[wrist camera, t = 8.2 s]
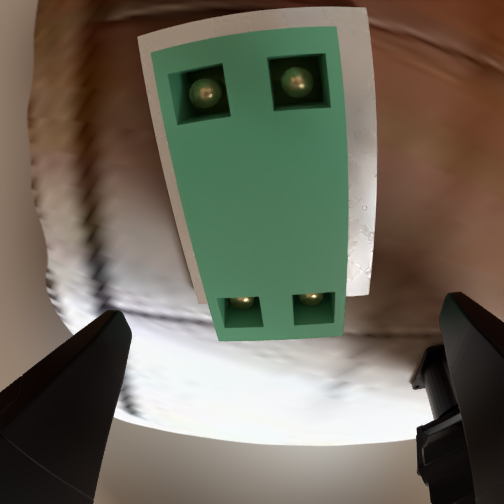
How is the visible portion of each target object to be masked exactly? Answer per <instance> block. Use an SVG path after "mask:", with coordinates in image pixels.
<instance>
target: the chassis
mask: <svg viewBox="0 0 504 504" xmlns="http://www.w3.org/2000/svg"><path fill="white" fill-rule="evenodd" d="M319 26H337V33H338V41H339V49H340V58H341V67H342V77H343V87H344V99H345V113H346V129H347V150H348V186H349V228H348V265H347V286H346V296H359V295H369V288H370V278H371V269H372V258H373V246H374V232H375V215H376V190H377V124H376V100H375V84H374V71H373V59H372V49H371V40H370V32H369V24H368V17H367V10H366V8H360V7H298V8H282V9H271V10H261V11H252V12H245V13H238V14H231V15H225V16H219V17H214V18H209V19H204V20H199V21H194V22H190V23H185V24H181V25H177V26H173V27H169V28H165V29H162V30H158V31H155V32H151V33H148V34H144V35H141V36H138V37H137V38H138V45H139V51H140V57H141V63H142V69H143V75H144V80H145V86H146V91H147V96H148V102H149V107H150V112H151V117H152V122H153V127H154V131H155V136H156V141H157V145H158V150H159V155H160V159H161V163H162V168H163V172H164V176H165V181H166V185H167V189H168V193H169V197H170V201H171V205H172V209H173V213H174V217H175V221H176V225H177V229H178V232H179V236H180V240H181V244H182V247H183V251H184V255H185V258H186V262H187V265H188V269H189V272H190V276H191V279H192V283H193V286H194V290H195V293H196V296H197V300H198V303H199V304H206V303H208V302H207V299H206V295H205V292H204V288H203V284H202V281H201V277H200V274H199V270H198V266H197V262H196V259H195V255H194V251H193V247H192V243H191V240H190V236H189V232H188V228H187V224H186V220H185V216H184V212H183V208H182V203H181V199H180V195H179V191H178V187H177V182H176V178H175V174H174V169H173V165H172V160H171V156H170V151H169V146H168V142H167V137H166V132H165V127H164V122H163V118H162V113H161V107H160V102H159V97H158V92H157V86H156V81H155V75H154V70H153V64H152V58H151V52H154V51H158V50H162V49H165V48H169V47H173V46H177V45H181V44H186V43H190V42H195V41H199V40H204V39H209V38H215V37H220V36H226V35H232V34H239V33H246V32H254V31H262V30H271V29H282V28H296V27H319ZM269 64H270V71H271V78H272V86H273V94H274V101H275V105H278V104H290V103H304V102H322V94H321V84H320V74H319V66H318V57H299V58H285V59H274V60H269ZM187 76H188V82H189V88H190V91H189V97H190V100H191V102H192V105H193V111H194V116H196V115H202V114H208V113H214V112H220V111H227V110H230V108H229V102H228V95H227V89H226V83H225V76H224V70H223V66H221V67H215V68H209V69H204V70H199V71H194V72H189V73H187ZM299 299H300V301H301V302H302V303H303V304H304V305H307V306H314V305H317V304H319V303H320V302H321V301H322V299H323V293H312V294H299ZM230 302H231V304H232V305H233V306H234V307H236V308H239V309H247V308H249V307H251V306H252V305H253V302H254V297H238V298H230Z"/></svg>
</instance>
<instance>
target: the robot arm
mask: <svg viewBox="0 0 504 504" xmlns="http://www.w3.org/2000/svg"><path fill="white" fill-rule="evenodd" d="M439 323H440V328H441V332H442V337H443V342H444V345H440V346H435V347H430V348H428V349H427V350H426V351H425V354H424V357H423V359H422V362H421V364H420V367H419V369H418V372H417V374H416V377H415V379H414V382H413V384H412V387H413V389H414V390H416V389H422V388H426V392H427V395H428V399H429V402H430V406H431V410H432V414H433V418H434V420H433V421H431V422H429V423H427V424H425V425H423V426H422V425H421V426H419V427H417V435H416V441H417V465H418V466H417V474H418V475H419V476H421V477H422V479H423V481H424V483H425V485H426V486H428V487H429V490H430V500H431V503H432V504H504V322H502V321H501V320H500V319H498V318H497V317H496V316H494V315H493V314H492V313H490V312H489V311H487V310H486V309H485V308H483V307H482V306H480V305H479V304H478V303H476V302H475V301H473V300H472V299H470V298H469V297H468V296H466V295H465V294H463V293H462V292H452V293H448V294H447V295H446V297H445V300H444V303H443V306H442V310H441V313H440V317H439ZM131 339H132V332H131V329H130V327H129V325H128V323H127V321H126V319H125V317H124V315H123V313H122V312H121V311H119V310H107V311H106V312H104V313H103V314H102V315H100V316H99V317H98V318H96V319H95V320H94V321H92V322H91V323H90V324H88V325H87V326H85V327H84V328H83V329H81V330H80V331H79V332H77V333H76V334H75V335H73V336H72V337H71V338H70V339H68V340H67V341H66V342H64V343H63V344H62V345H60V346H59V347H58V348H56V349H55V350H54V351H52V352H51V353H50V354H49V355H47V356H46V357H45V358H43V359H42V360H41V361H40V362H38V363H37V364H36V365H34V366H33V367H32V368H31V369H29V370H28V371H27V372H25V373H24V374H23V376H21V377H19V378H18V379H17V380H15V381H14V382H13V383H12V384H10V385H9V386H8V387H6V388H5V389H4V390H2V391H1V392H0V504H93V502H94V500H93V499H94V496H95V491H96V486H97V481H98V477H99V472H100V468H101V463H102V459H103V455H104V451H105V447H106V443H107V439H108V435H109V431H110V427H111V423H112V420H113V416H114V412H115V409H116V405H117V401H118V398H119V394H120V391H121V387H122V384H123V379H124V375H125V369H126V364H127V359H128V354H129V349H130V344H131Z"/></svg>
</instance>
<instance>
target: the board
mask: <svg viewBox="0 0 504 504" xmlns="http://www.w3.org/2000/svg"><path fill="white" fill-rule="evenodd" d="M299 57H318V66H319V74H320V84H321V94H322V102H304V103H290V104H278V105H275V101H274V94H273V86H272V78H271V71H270V64H269V60H274V59H285V58H299ZM151 58H152V64H153V70H154V75H155V81H156V86H157V92H158V97H159V102H160V107H161V113H162V118H163V122H164V127H165V132H166V137H167V142H168V146H169V151H170V156H171V160H172V165H173V169H174V174H175V178H176V182H177V187H178V191H179V195H180V199H181V203H182V208H183V212H184V216H185V220H186V224H187V228H188V232H189V236H190V240H191V243H192V247H193V251H194V255H195V259H196V262H197V266H198V270H199V274H200V277H201V281H202V284H203V288H204V292H205V295H206V299H207V302H208V306H209V309H210V313H211V316H212V319H213V323H214V326H215V330H216V333H217V336H218V340H219V341H260V340H286V339H305V338H321V337H334V336H343V329H344V317H345V303H346V286H347V265H348V228H349V186H348V150H347V129H346V113H345V99H344V87H343V77H342V67H341V58H340V49H339V41H338V33H337V26H319V27H296V28H282V29H271V30H262V31H254V32H246V33H239V34H232V35H226V36H220V37H215V38H209V39H204V40H199V41H195V42H190V43H186V44H181V45H177V46H173V47H169V48H165V49H162V50H158V51H154V52H151ZM221 66H223V70H224V76H225V83H226V89H227V95H228V102H229V108H230V110H227V111H220V112H214V113H208V114H202V115H196V116H194V111H193V105H192V102H191V100H190V97H189V91H190V88H189V82H188V76H187V73H189V72H194V71H199V70H204V69H209V68H215V67H221ZM312 293H323V299H322V301H321V302H320V303H319V304H317V305H314V306H307V305H304V304H303V303H302V302H301V301H300V299H299V294H312ZM238 297H254V302H253V305H252V306H251V307H249V308H247V309H239V308H236V307H234V306H233V305H232V304H231V302H230V298H238Z"/></svg>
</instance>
